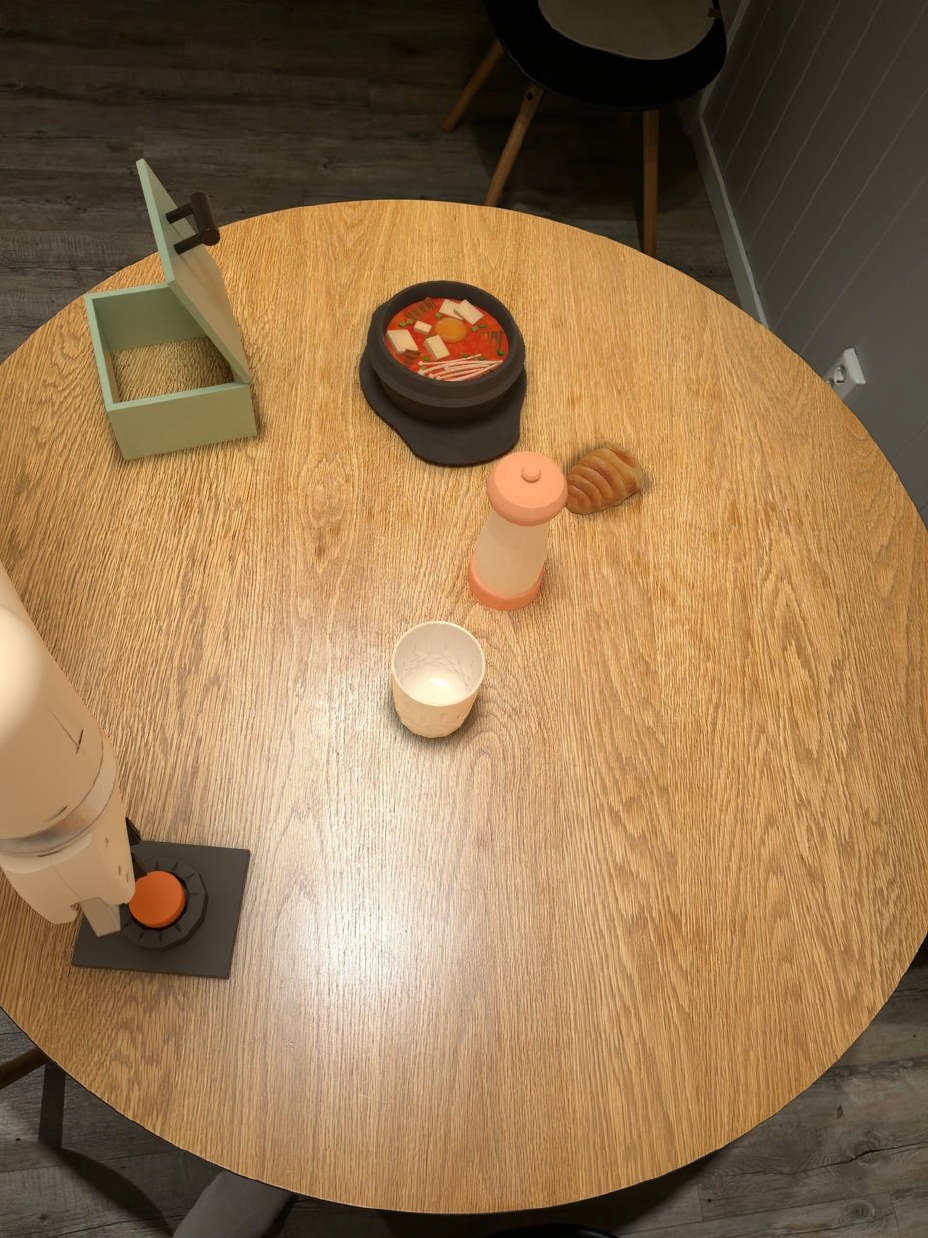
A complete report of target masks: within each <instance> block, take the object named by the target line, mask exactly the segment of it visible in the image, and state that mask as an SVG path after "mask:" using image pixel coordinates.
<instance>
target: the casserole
mask: <svg viewBox="0 0 928 1238" xmlns="http://www.w3.org/2000/svg"><path fill="white" fill-rule="evenodd" d="M366 334H367V335H366V345H365V346H364V349H363V352H362V354H361V357H360V361H359V370H358V375H359V381H360V387H361V388H362V392H363V394H364V396H365V399H366V400H367V401H368V403H369V404H370V406H371V407H372V408H373V410H374V411H375V412H376V413H378V414H379V415H380V416H381V417H382V418H383V419H384V420H385V421H386V422H387V423H388V424H390V425H391V426H392V427H393V428H394V429H395V430H396V431H397V432H398V433H399V435H400V436H401V437H402V438H403V439H404V441H405V442H406V444H407V445H408V446H409V448H411V450H412V451H413V453H414V454H416V455H417V456H419V457H420V458H422V459H424V460H425V461H429V462H433V463H438V464H442V465H468V464H476V463H480V462H484V461H489V460H491V459H493V458H496V457H498V456H500V455H503V454H504V453H506V452H507V451H508V450H510V449H512V448H513V447H514V446H515V444H516V443H517V442H518V439H519V438H520V433H521V432H520V431H521V430H520V429H521V410H522V405H523V402H524V398H525V396H526V395H525V394H526V391H527V387H528V386H527V385H528V383H527V382H528V380H527V371H526V367H525V360H526V344H525V340H524V336H523V334H522V332H521V330H520V328H519V326H518V324H517V323H516V320H515V318H514V316H513V315H512V313H511V312H510V310H509V308H507V307H506V306H505V304H504V303H503V302H502V301H500V300H499V299H498V298H497V297H496V296H494V295H493V294H492V293H489V292H488V291H486V290H484V289H483V288H480V287H477V286H475V285H473V284H469V283H466V282H461V281H455V280H445V279H443V280H441V279H440V280H439V279H438V280H428V281H427V280H426V281H424V282H423V281H422V282H418V283H415V284H412V285H409V286H407V287H404V288H403V289H402V290H400V291H398V292H396V293H395V294H393V296H391V298H390V299H389V300H387V301H385V302H383V303H382V304H380V305H378V306H377V307H376V309H375V310H374V311H373V313H371V319H370V323H369V328H368V330H367V333H366Z"/></svg>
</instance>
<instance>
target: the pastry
mask: <svg viewBox="0 0 928 1238" xmlns="http://www.w3.org/2000/svg"><path fill="white" fill-rule="evenodd" d="M565 478H566V480H567V490H568V498H567V501H566V504H565V507H564V508H566V509H567V510H568V511H569V512H570V513H574V514H578V515H582V516H588V515H590V514H594V513H598V512H599V513H600V512H604V511H605V510H609V509H610V508H613V507H618V506H620V505H621V504H623V502H624V500H626V499H628V498H629V497H630V496H632V495H633V494H635V493H637V492H638V491H639V490H643V489H644V488H645V480H644V474H643V471H642V468H641V464H640V462H639V460H638V459H637V458H636V457H635V455H634V454H633V453H632V452H631V451H630V450H629V449H628V448H625V447H622V446H621V445H619V444H615V443H607V444H606V445H604V446H603V447H600V448H597V449H595V450H591V451H589V452H588V453H587V454H586V455H585V456H583V458H581V459H579V460H578V461H577V462H576V463H575V464H574V466H572V468H571V470H570V472H569V473H568V474H567V476H566V477H565Z"/></svg>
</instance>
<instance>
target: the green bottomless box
mask: <svg viewBox="0 0 928 1238" xmlns="http://www.w3.org/2000/svg"><path fill="white" fill-rule="evenodd" d="M82 297H83V302H84V307H85V312H86V317H87V322H88V327H89V332H90V338H91V342H92V343H91V344H92V347H93V352H94V353H93V354H94V358H95V363H96V367H97V373H98V377H99V382H100V386H101V387H100V388H101V393H102V397H103V403H104V407H105V412H106V415H107V418H108V421H109V423H110V425H111V428H112V431H113V433H114V436H115V439H116V442H117V445H118V447H119V451H120V453H121V455H122V458H123V460H124V461H130V460H135V459H141V458H145V457H151V456H156V455H161V454H166V453H173V452H177V451H183V450H187V449H192V448H197V447H203V446H209V445H212V444H218V443H219V444H220V443H224V442H228V441H234V440H238V439H239V440H240V439H243V438H249V437H255V436H258V431H257V424H256V423H257V422H256V418H255V412H254V406H253V400H252V399H253V398H252V393H251V386H250V383H249V382H248V383H244V381H243V380H242V379H241V378H240V376H239V375H238V374H237V373H236V371H235V370H234V369H233V367H232V366H231V365H230V364H229V367H230V371H231V374H232V377H233V381H232V382H226V383H221V384H216V385H211V386H204V387H200V388H198V387H197V388H193V389H187V390H183V391H176V392H172V393H166V394H160V395H154V396H149V397H144V398H138V399H132V400H127V401H121V398H120V397H121V396H120V392H119V389H118V383H117V379H116V374H115V373H116V372H115V368H114V364H113V359H112V354H111V353H114V352H120V351H127V350H134V349H138V348H143V347H151V346H156V345H163V344H168V343H173V342H179V341H186V340H192V339H198V338H203V337H208V336H207V334H206V333H205V332H204V330H203V329H202V328H201V327H200V325H199V324H198V323H197V322H196V320H195V319H194V318H193V316H192V315H191V314H190V313H189V311H188V310H187V309H186V308H185V306H184V305H183V304H182V302H181V301H180V300H179V299H178V297H177V296H176V295H175V294H174V292H173V291H172V290H171V288H170V287H169V286H168V285H167V283H166V281H163V282H157V283H151V284H150V283H149V284H143V285H137V286H130V287H123V288H117V289H109V290H105V291H98V292H97V291H96V292H92V293H91V292H90V293H84V294H83V295H82Z"/></svg>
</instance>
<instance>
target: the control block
mask: <svg viewBox="0 0 928 1238" xmlns="http://www.w3.org/2000/svg"><path fill="white" fill-rule="evenodd" d="M130 852H133V853H134V854H135V855H136V856H137V857H138V858H139V860H140V861H141V862H142V863H143V864H144V865H145V866H146V869H147V873H150V872H154V871H164V872H167V873H170V874H171V875H173V876H174V877H175V878H176V879H177V880H178V881H179V882H180V884H181V885H182V886H183V888H184V891H185V895H186V902H185V906H184V909H183V911H182V913H181V914H180V916H179V917H178V918H177V919H176V920H175V921H174V922H173V923H171V924H169V925H167V926H165V927H160V928H152V927H148V926H146V925H144V924H142V923H141V922H140V921H138V920H137V919H136V918H135V917H134V916H133V915H132V913H131V911H130V908H129V902H128V903H127V904H125V903H122V904H119V913H120V928H121V929H120V931H117V932H114V933H111V934H107V935H104V936H101V937H98V936H97V935H96V933H95V931H94V930H93V928H92V926H91V924H90V923H89V921H88V919H87V917H86V916H85V914H84V913H83V915H82V918H81V921H80V927H79V930H78V934H77V938H76V942H75V946H74V950H73V953H72V958H71V962H70V965H71V966H73V967H75V968H86V969H99V970H111V971H123V972H135V973H145V974H147V973H148V974H160V975H171V976H183V977H185V976H186V977H197V978H209V979H219V980H220V979H223V980H229V979H230V977H231V976H230V975H231V969H232V965H233V959H234V958H233V957H234V951H235V945H236V941H237V935H238V929H239V924H240V917H241V912H242V906H243V900H244V894H245V890H246V889H245V888H246V883H247V877H248V870H249V865H250V860H251V856H252V855H251V854H252V853H251V851H250V849H248V848H247V849H246V848H236V847H225V846H212V845H204V844H203V845H201V844H191V843H178V842H169V841H157V840H145V839H141V841H140V843H139V844H137V845H134V846H131V847H130ZM137 880H138V879H135V882H136V881H137Z"/></svg>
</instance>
